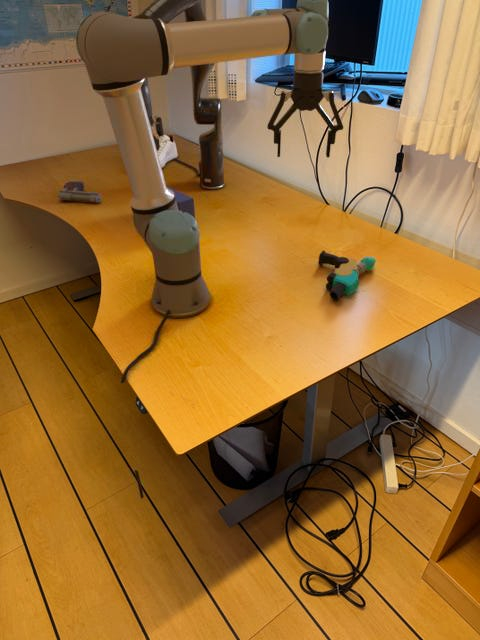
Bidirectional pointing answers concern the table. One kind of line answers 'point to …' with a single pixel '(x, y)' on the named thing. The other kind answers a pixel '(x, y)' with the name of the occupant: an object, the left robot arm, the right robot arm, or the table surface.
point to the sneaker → (167, 149)
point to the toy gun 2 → (344, 273)
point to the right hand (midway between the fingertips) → (145, 152)
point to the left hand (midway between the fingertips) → (303, 155)
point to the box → (184, 202)
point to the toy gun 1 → (78, 193)
